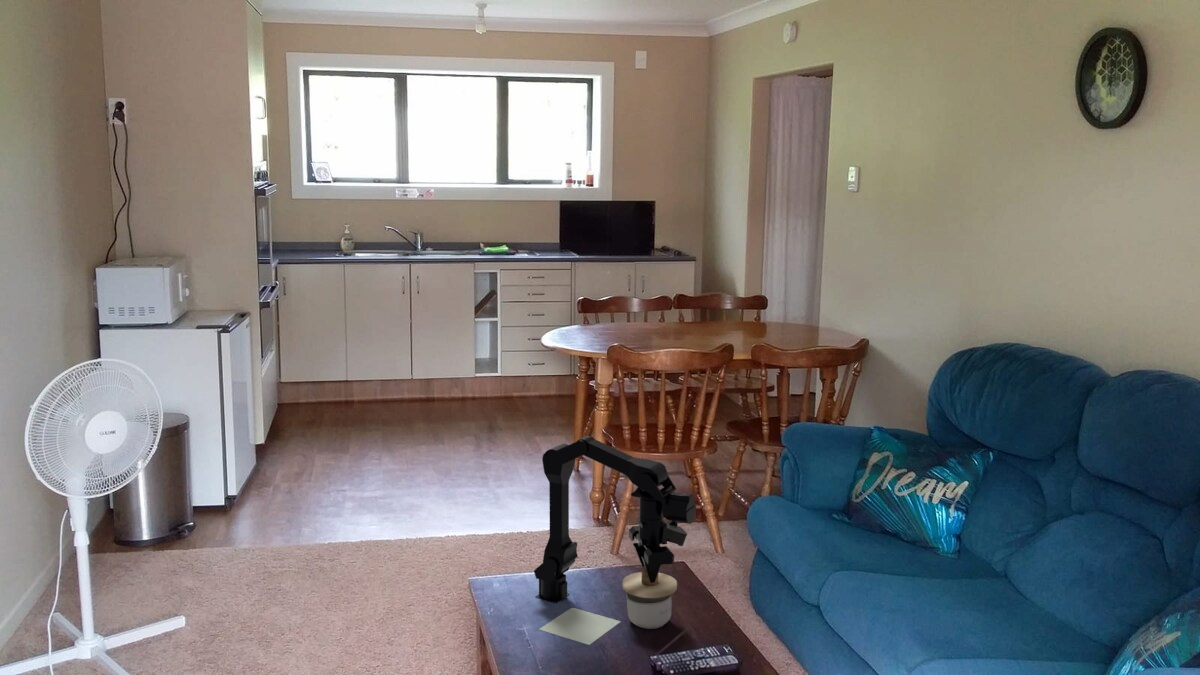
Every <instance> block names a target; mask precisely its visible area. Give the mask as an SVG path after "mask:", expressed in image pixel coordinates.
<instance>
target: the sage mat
mask: <svg viewBox="0 0 1200 675" xmlns="http://www.w3.org/2000/svg"><path fill="white" fill-rule="evenodd" d="M621 622H622V621H621V620H618V619H617V620H616V619H615V618H611V617H607V616H604V615H599V614H596V613H593V612H589V611H587V610H583V609H579V608H576V607H570V608H569V609H568V610H566V611H564V612H563V613H561V614H559V616H557V617H555V618H554V619H552V620H550V622H548V623H546V624H544V625H543V626H542V627H540V628H538V629H539V631H542V632H546V633H549V634H552V635H554V636H558V637H560V638H561V637H562V638H565V639H567V640H571V641H575V642H579V643H581V644H584V645H587V646H591V644H592V643H594V642H595V641H597V640H598V639H599V638H601V637H602V636H604V635H605V634H606V633H608V632H609V631H610V630H612V629H614V628H615V627H616V626H618V624H620V623H621Z"/></svg>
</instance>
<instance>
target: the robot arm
mask: <svg viewBox="0 0 1200 675" xmlns="http://www.w3.org/2000/svg"><path fill="white" fill-rule="evenodd" d="M581 456H585V457H587V458H588V459H590V460H592V461H595V462H597V463H599V464H602V466H605V467H607V468H610V469H611V470H614V471H616V472H618V473H620V474H622V475H624V476H625V477H626V478H628V481H630V482H631V483H632V485H634V486H636V489H635V490H634V491H633V492H631V493H630V496H631V497H634V498H639V500H638V501H639V503H638V505H639V507H638V508H639V509H638V515H639V516H638V517H636V523H637V524H638V525H632V526H631V527H630V528H629V529H628V538H629V539H630V541H632V542H633V541H636V542H634V543H632V545H633V548H634V550H635V554H636V555H637V558H638V560H639V563H640V564H641V568H642V567H644V566H645V569H646V572H647V575H648V577H649V580H650V582H651V583H654V582H655V580H656V577H657V574H658V573H659V572H660V569H661V568H660V567H661V566H662V565H673V564H674V563H675V554H674V553H673V551H672V550H671V549H670V548H669V547H668V546H667V544H668V543H671V544H676V545H678V546H679V547H683V546H684V544H685V542H686V539H687V536H688V533H687V532H686V531H685V529H684V528H682V527H681V526H680V525H678V523H682V524H687V525H691V524H692V523H693V522H694V519H695V517H696V513H697V505H696V502H695V500H694V499H693V497H694V495H693V493H685V492H684V493H682V492H678V491H677V487H676V486H675V484H674V482H673V481H672V480H671V478H670V476H669V474H668V470H667V468H666V466H665V465H664V464H663V463H661V462H660V461H656V460H652V459H648V458H640V457H639V458H638V457H634V456H632V455H630V454H627V453H625V452H623V451H621V450H619V449H617V448H614V447H613V446H610V445H608V444H605V443H604V442H601V441H599V440H598V439H595V438H594V437H593V436H590V435H586V436H583V437H581V438H579V439H578V440H576V441H575V442H573V443H570V444H567V443H561V444H558V445H556V446H554V447H552V448H550V449H548V450H546V451H545V452H544V453H543V454H542V458H541V459H542V467H543V473H544V475H545V477H546V478H547V479H546V480H547V481H548V482H549V483H548V484H549V485H548V486H549V488H548V489H549V496H548V497H549V500H548V501H549V537H548V540H547V543H546V546H545V548H544V552H543V558H542V563H541V564H539V566H538V567H537V568H535V569H534V570H533V573H534V575H535V579H536V580H538V594H537V595H536V596H535V598H536V599H539V600H543V601H546V602H549V603H553V604H557V603H558V602H560V601H563V600H564V599H566V598H567V597H568V596H570V593H568V581H567V574H564V573H566V572H568V571H569V570H570V567H572V566H573V565H574V563H575V562H576V559H577V558H578V557H579V556H578V553H577V548H578V542H577V541H573V540H572V539H571V537H570V527H569V525H570V515H569V514H570V508H569V507H570V493H569V492H570V489H569V488H570V479H571V477H572V474H573V471H574V468H575V463H576V459H577V458H580V457H581ZM661 486H662V487H663V488H660V487H661ZM664 519H666V520H667V521H665V520H664ZM662 545H664V546H662ZM658 571H659V572H658Z"/></svg>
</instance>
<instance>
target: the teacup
mask: <svg viewBox="0 0 1200 675" xmlns="http://www.w3.org/2000/svg"><path fill="white" fill-rule="evenodd" d="M672 595H673V594H671V595H669V596H666V597H661V598H642V597H637V596H634V595H631V594H629V593H627V592H626V593H625V597H626V606H627V614H628V618H629V620H630V622H631V623H632V624H634V625H635V626H637V627H638V628H642V629H647V630H653V629H659V628H662V627H663V626H664V625H666V624H667V623H668V622H669V621H670V619H671V617H672V602H673V601H672Z"/></svg>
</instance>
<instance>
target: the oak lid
mask: <svg viewBox="0 0 1200 675" xmlns="http://www.w3.org/2000/svg"><path fill="white" fill-rule="evenodd" d="M622 589H623V590H624V591H625V592H626V593H629V594H631V595H634V596H637V597H642V598H661V597H666V596H669V595H671V594H672V595H673V594H674V593H676V592H677V590H678V581H677V580H676V579H675V578H674V577H673V576H671V575H668V574H666V573H662V572H660V570H659V571H658V574H657V577H656V580H655V582H654V583H651V582H650V580H649V577H648V575H647V572H646V569H645V566H644V567H642V566H641V571H640V572H639V571H638V572H635V573H631V574H628V575H627V576H625V577H624V578H623V579H622Z"/></svg>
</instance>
